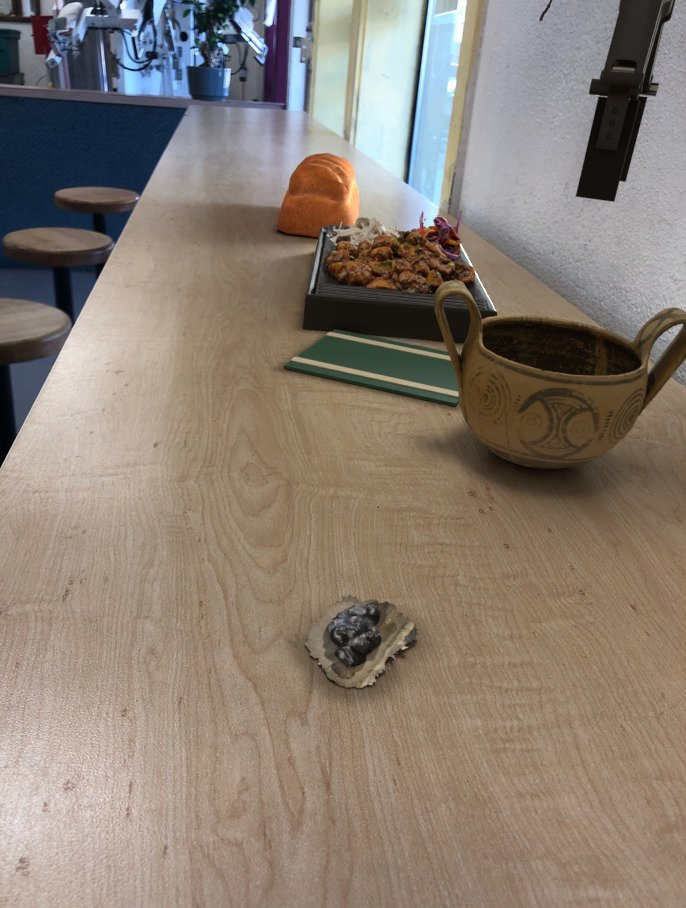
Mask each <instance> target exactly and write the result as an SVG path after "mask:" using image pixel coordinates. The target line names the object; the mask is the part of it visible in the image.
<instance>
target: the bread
mask: <svg viewBox="0 0 686 908" xmlns="http://www.w3.org/2000/svg"><path fill="white" fill-rule="evenodd" d="M287 188H288V189H286V191H285V194H284V196H283V200H282V203H281V205H280V208H279V212H278V215H277V219H276V225H277V230H278V231H280V232H282V233H284V234H288V235H293V236H294V235H295V236H303V237H313V238H318V236H319V231H320V227H328V225H330V224H332V225H341V226H348V224H350V225H353V224H355V221H356V219H357V218H359V214H360V210H361V209H360V208H361V207H360V194H359V188H358V186H357V183H356V172H355V169H354V165H353V164H352V163H351V162H350V161H348V159H346V158H344V157H341V156H338V155H335V154H333V153H329V152H323V153H313V154H311V155H308V156H306V157H305V158H304V159H303V160H301V162H300V163H299V164H298V165H297V166H296V168H295V169H294V171H293V172H292V173H291V175H290V177H289V181H288V187H287ZM341 221H342V224H341Z"/></svg>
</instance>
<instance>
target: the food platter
mask: <svg viewBox="0 0 686 908" xmlns="http://www.w3.org/2000/svg"><path fill="white" fill-rule="evenodd" d="M424 214H425V213H424V211H423V210H421V214H420V216H419V218H418V222H419V228H412V229H411V230H407V231H404V230H400V228H398V226H397V225H394V226H390V227H387V228H386V227H385V225H384V223H381V222H380V221H379V220H377V219H376V218H375V217H367V216H361V217H358V218H357V219H356V221H355V224H353V225H350V224H348V226H341V225H332V224H330V225H328V227H320V231H319V236H318V237H317V240H316V246H315V251H314V256H313V260H312V264H311V269H310V273H309V278H308V284H307V288H306V293H305V297H304V308H303V309H304V310H303V322H302V323H303V324H302V329H303V330H311V331H324V332H331V331H333V330H334V329H337V330H342V331H347V332H352V333H357V334H362V335H367V336H378V337H388V338H389V337H390V338H400V339H401V338H402V339H412V340H421V341H422V340H424V341H434V342H444V338H443V335H442V332H441V329H440V326H439V323H438V319H437V316H436V313H435V309H434V295H435V293H436V290H437V289H438V287H439V286H440V285H441V284H442V283H445V282H448V281H454V282H458V283H460V284H462V285H463V286H465V287H466V288H467V289H468V290H469V292H470V293H471V295H472V297H473V299H474V301H475V303H476V305H477V307H478V309H479V312H480V314H481V318H482V319H485V318H488V317H494V316H498V311H497V309H496V307H495V305H494V303H493V302H492V299H491V298H490V296H489V294H488V291H487V290H486V288H485V286H484V285H483V283H482V281H481V279H480V277H479V276H478V274H477V272H476V269H475V267H474V266H473V264H472V263H471V261H470V259H469V257H468V254H467V253H466V252H465V250H464V247H463V245H462V244H461V243H462V240H461V238H460V237H459V227H460V220H461V217H462V214H463V210H462V209H461V210H460V211H459V216H458V219H457V221H456V225H455V226H452V225H451V224H450V222H449V221H448V220H447V218H445V217H443V216H441V215H440V214H439V215H437V216H436V217H434V218H433V219H432V222H433V225H429V226H428V227H426V226H425V225H424V223H425V222H423V221H426V220H427V218H424ZM341 224H342V221H341ZM443 308H444V312H445V316H446V319H447V322H448V325H449V329H450V332H451V335H452V337H453V340H454V343H458V344H464V343H465V340H466V338H467V336H468V332H469V327H470V322H471V319H470V312H469V309H468V307H467V305H466V303H465V301H464V300H463V299H462V298H461V297H460V296H459V295H451V296H448V297H447V298H446V299H445V300H444V301H443Z"/></svg>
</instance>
